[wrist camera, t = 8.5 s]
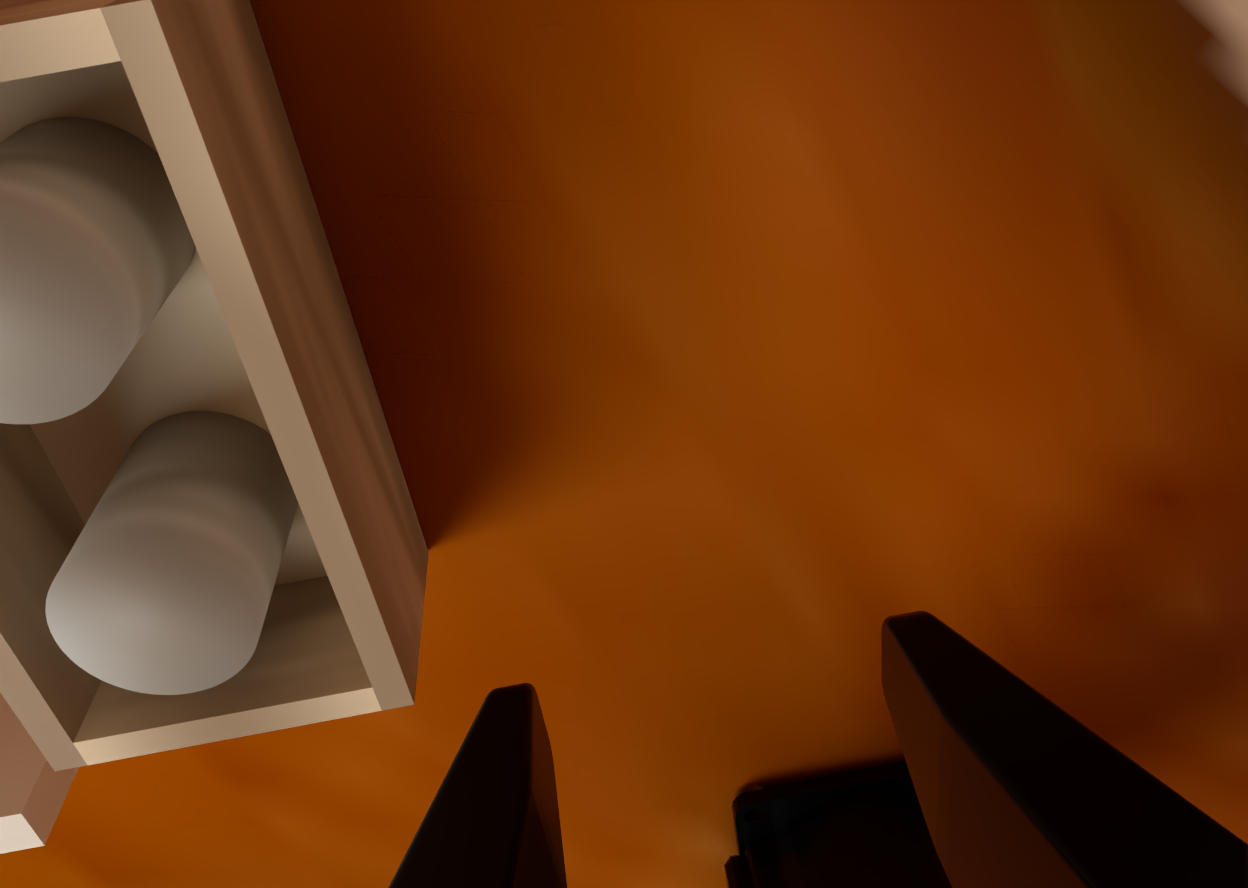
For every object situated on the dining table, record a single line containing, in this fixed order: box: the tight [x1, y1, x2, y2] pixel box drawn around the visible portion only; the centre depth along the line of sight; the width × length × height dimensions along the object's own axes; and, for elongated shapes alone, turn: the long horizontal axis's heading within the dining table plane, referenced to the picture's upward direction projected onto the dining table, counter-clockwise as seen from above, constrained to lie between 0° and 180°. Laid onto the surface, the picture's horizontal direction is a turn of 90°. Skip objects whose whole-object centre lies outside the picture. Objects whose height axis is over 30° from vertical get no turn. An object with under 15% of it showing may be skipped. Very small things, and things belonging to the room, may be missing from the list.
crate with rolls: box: [0, 0, 428, 771], centre depth 17 cm, size 7×12×5 cm, turn 8°
